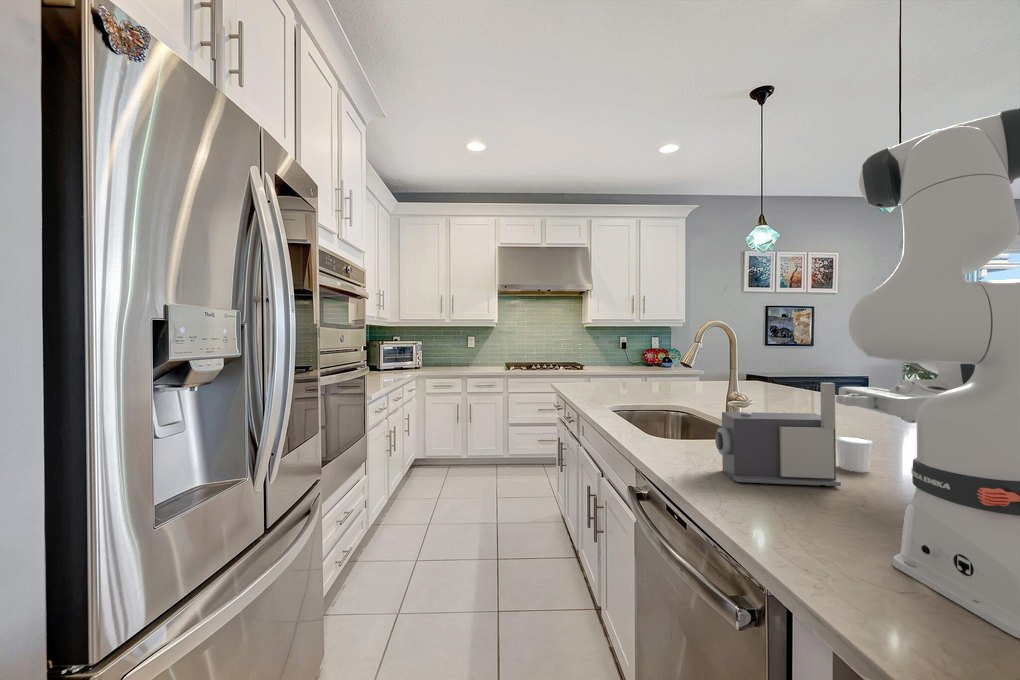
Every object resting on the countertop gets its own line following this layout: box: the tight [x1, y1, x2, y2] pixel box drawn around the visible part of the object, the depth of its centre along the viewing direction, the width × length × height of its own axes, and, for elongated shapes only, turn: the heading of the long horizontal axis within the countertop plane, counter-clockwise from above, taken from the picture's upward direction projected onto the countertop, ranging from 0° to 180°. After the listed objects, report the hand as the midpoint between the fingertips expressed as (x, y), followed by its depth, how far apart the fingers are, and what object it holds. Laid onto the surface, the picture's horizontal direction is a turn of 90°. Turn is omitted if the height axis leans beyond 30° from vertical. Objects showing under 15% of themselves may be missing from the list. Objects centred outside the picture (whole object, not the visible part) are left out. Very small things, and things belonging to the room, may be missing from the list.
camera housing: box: [714, 411, 842, 487], centre depth 94 cm, size 10×22×15 cm, turn 80°
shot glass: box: [835, 436, 873, 473], centre depth 100 cm, size 7×7×7 cm
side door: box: [780, 382, 836, 479], centre depth 89 cm, size 1×10×20 cm, turn 80°
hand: (840, 400), depth 88 cm, fingers closed
